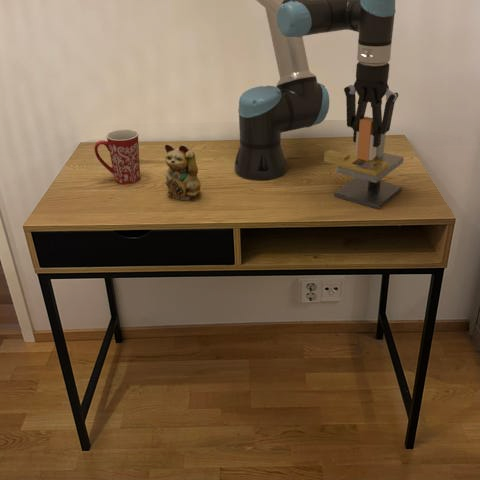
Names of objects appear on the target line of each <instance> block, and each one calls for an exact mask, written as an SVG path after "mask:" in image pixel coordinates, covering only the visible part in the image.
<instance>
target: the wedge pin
mask: <svg viewBox="0 0 480 480" xmlns="http://www.w3.org/2000/svg"><path fill="white" fill-rule="evenodd" d="M372 133H373V117H368V116H364V118H362V119H361V120H360V124H359V137H358V151H357V158H358V159H362V160H366V161H368V157H369V145H370V135H371V134H372Z"/></svg>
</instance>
